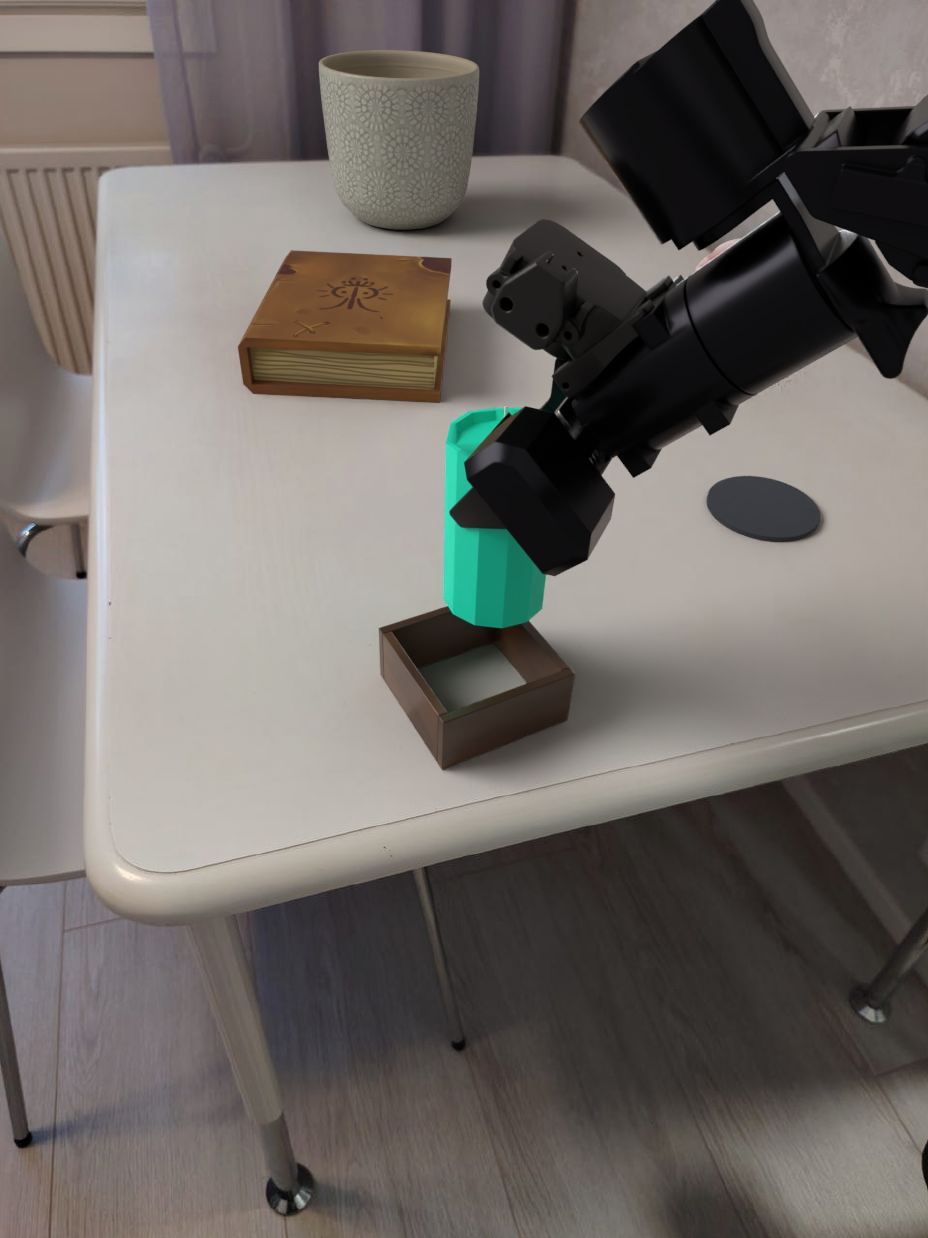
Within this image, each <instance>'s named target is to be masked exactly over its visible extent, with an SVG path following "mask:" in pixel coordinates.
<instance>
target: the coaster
mask: <svg viewBox="0 0 928 1238" xmlns="http://www.w3.org/2000/svg"><path fill="white" fill-rule="evenodd" d="M706 506H707V509H708V511H709V513H710V514H711V515H712V517H713V518H714V519H715V520H716V521H718V522H719V523H720V524H721V525H723V526H724V527H725V528H727V529H729V530H731V531H733V532H735V533H738V534H740V535H743V536H745V537H748V538H752V539H755V540H756V539H757V540H759V541H766V542H793V541H797V540H800V539H804V538H806V537H808V536H810V535H812V534H813V533H814V532H815V531H816V530H817V528H818V527H819V524H820V521H821V512H820V509H819V506H818V505H817V503H816V502H815V501H814V500H813V499H812V498H811V496H809V495H808V494H806V493H805V492H804V491H802V490H801V489H799V488H797V487H795V486H793V485H791V484H789V483H786V482H783V481H781V480H778V479H773V478H771V477H764V476H757V475H756V476H755V475H738V476H731V477H725V478H724V479H721V480H719V481H717V482H716V483H714V484H713V485H712V486H711V487H710V489H709V490H708V492H707V495H706Z"/></svg>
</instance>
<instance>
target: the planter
mask: <svg viewBox="0 0 928 1238" xmlns="http://www.w3.org/2000/svg"><path fill="white" fill-rule="evenodd" d="M318 75H319V76H318V77H319V78H318V79H319V88H320V98H321V99H320V101H321V107H322V117H323V123H324V124H323V125H324V131H325V139H326V147H327V148H326V149H327V153H328V161H329V168H330V172H331V176H332V181H333V186H334V189H335V192H336V195H337V196H338V199H339V200H340V202H341V203H342V205H343V206H344V207H345V208H346V209H347V210H348V211H349V212H350V213H351V214H352V216H354V217H356V218H357V219H358V220H360V221H361V222H363V223H365V224H368V225H369V226H373V227H376V228H381V229H389V230H407V231H408V230H419V229H425V228H430V227H433V226H436V225H439V224H440V223H442V222H444V221H445V220H447V219H448V218H449V217H450V216H451V215H452V214H454V213H455V211H456V210H457V209H458V208H459V207H460V205H461V204H462V202H463V200H464V197H465V195H466V193H467V190H468V186H469V179H470V174H471V169H472V160H473V151H474V143H475V142H474V141H475V133H476V126H477V125H476V123H477V114H478V103H479V102H478V101H479V88H480V87H479V86H480V66H479V65H478V64H477V63H476V62H474V61H472V60H470V59H466V58H463V57H460V56H455V55H450V54H446V53H445V54H444V53H438V52H429V51H419V50H402V49H401V50H400V49H399V50H398V49H372V50H356V51H355V50H354V51H346V52H339V53H334V54H331V55H328V56H325V57H323V58H321V59H320V60H319V61H318ZM444 219H445V220H444Z"/></svg>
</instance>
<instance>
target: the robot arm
mask: <svg viewBox="0 0 928 1238" xmlns="http://www.w3.org/2000/svg"><path fill="white" fill-rule="evenodd" d="M578 124H579V125H580V127H581V128H582V130H583V131H584V133H585V134H586V136H587V137H588V139H589V140H590V142H591V143H592V145H593V146H594V148H595V149H596V151H597V152H598V154H599V155H600V156H601V159H603V161H604V162H605V164H606V166H607V167H608V169H609V170H610V172H611V173H612V174H613V176H614V177H615V179H616V181H617V182H618V184H619V185H620V187H621V188H622V189H623V191H624V193H625V194H626V196H627V197H628V199H629V200H630V201H631V203H632V205H633V206H634V207H635V209H636V211H637V212H638V213H639V215H640V216H641V218H642V219H643V221H644V222H645V224H646V225H647V227H648V228H649V230H650V231H651V233H652V234H653V236H654V237H655V239H656V240H657V242H658V243H659V244H660V245H664V244H666V243H668V242H670V241H672V243H673V244H674V246H675V247H676V249H677V250H678V251H680V250H682V249H684V248H685V247H687V246H688V245H690V244H691V243H692V244H693V246H694V248H695V249H696V250H697V251H698V252H700V251H703V250H704V249H707V248H708V247H710V246H711V245H712V244H715V243H716V242H717V241H719V240H721V239H722V238H723V237H724V236H727V235H728V234H729V233H730V232H731V231H734V229H736V228H737V227H739V225H741V224H743V222H745V221H746V220H747V219H749V218H750V217H751V216H752V215H754V214H755V213H756V212H758V211H759V210H760V209H762V208H763V207H764V206H766V205H767V204H768V203H770V202H771V201H773V202H774V204H775V206H776V207H777V209H778V212H777V213H776V214H774V215H772V216H771V217H769V218H768V219H767V220H765V221H764V222H763V223H761V224H760V225H758V226H757V227H756V228H755V229H753V230H752V231H750V232H749V233H747V234H746V235H745V236H743V237H742V238H741V239H740V240H739V241H738V242H736V243H735V244H733V245H732V246H731V247H729V248H728V249H726V250H725V251H724V252H722V253H721V254H719V255H718V256H717V257H715V258H714V259H712V260H711V261H710V262H708V263H707V264H705V265H704V266H703V267H701V268H700V269H698V270H697V271H696V272H695V271H694V272H693V273H691V274H690V275H688V276H687V277H685V278H684V277H683V276H682V274H679V275H678V276H676V277H674V279H673V278H672V277H671V275H670V274H667V275H666V276H665V277H663V278H662V279H661V280H659V281H657V283H655V284H653V285H652V286H650V287H649V288H648V289H647V290H645V288H643V287H642V286H641V285H640V284H638V283H637V282H636V281H634V279H632V278H631V277H629V276H628V275H627V274H626V272H625V271H624V270H623V269H622V268H621V267H620V266H619V265H618V264H617V263H615V262H613V261H612V260H611V259H610V258H608V257H607V256H605V255H604V254H603V253H601V252H600V251H598V250H597V249H596V248H595V247H593V246H592V245H590V244H588V243H587V242H586V241H584V240H583V239H582V238H581V237H579V236H577V235H576V234H575V233H573V232H571V231H570V230H569V229H568V228H566V227H565V226H563V225H562V224H561V223H558V222H556V221H554V220H551V219H547V218H542V219H538V220H537V221H536V222H535V223H533V224H532V225H531V226H529V227H528V228H527V229H526V230H524V231H523V232H521V233H520V234H519V235H518V236H516V237H515V238H514V239H513V240H512V241H511V245H510V246H509V248H508V250H507V252H506V253H505V256H504V258H503V260H502V262H501V264H500V266H499V267H497V268H496V270H494V271H493V272H492V273H490V274H489V275H488V276H487V277H486V280H485V281H486V282H485V285H486V290H487V291H486V294H485V296H483V299H482V301H481V302H482V307H483V310H484V311H485V313H486V314H487V315H488V316H489V318H491V319H493V322H495V324H496V325H498V326H499V327H500V328H502V329H503V330H504V331H506V332H507V333H509V334H510V335H512V336H513V337H514V338H515V339H517V340H518V341H520V342H521V343H522V344H524V345H526V346H527V347H528V348H530V349H531V350H533V351H540V350H541V351H542V350H543V351H544V352H546V353H547V354H548V355H550V356H552V357H553V358H555V361H554V366H553V373H552V375H551V378H552V382H551V390H550V396H549V398H547V400H546V401H545V403H543V405H542V406H541V407H540V408H534V407H531V406H527V405H524V406H522V407H523V408H522V409H520V410H519V411H518V412H516V413H515V414H513V415H511V414H510V412H508V413H507V415H506V416H505V417H504V418H503V419H502V420H501V421H500V422H499V424H498V425H497V426H496V427H495V428H494V429H493V430H492V431H491V433H490V434H489V435H488V436H487V437H486V438H485V439H484V440H483V442H482V443H481V444H480V445H479V446H478V447H477V448H476V449H475V451H474V452H473V453H472V454H471V455H470V456H469V457H468V458H467V460H466V461H465V462H464V466H465V472H466V478H467V481H468V482H469V483H470V484H471V486H472V487H471V488H470V490H469V491H468V492H467V493H466V494H465V495H464V496H463V497H462V498H461V499H460V500H459V501H458V502H457V503H456V504H455V505H454V506H453V507H452V508H451V509H450V511H449V514H450V516H451V517H452V518H453V519H454V521H455V522H456V523H457V524H458V525H459V526H460V527H462V528H483V529H507V530H508V532H509V533H510V534H511V535H512V537H513V538H514V539H515V540H516V542H517V543H518V544H519V545H520V547H521V548H522V549H523V550H524V552H525V553H526V554H527V555H528V556H529V558H530V559H531V560H532V561H533V563H534V564H535V565H536V566H537V568H538V569H539V570H540V571H541V573H542V574H546V576H551V577H556V576H558V575H560V574H563V573H565V572H567V571H569V570H571V569H573V568H575V567H577V566H579V565H580V564H583V563H585V562H587V561H588V560H589V558H590V556H591V554H592V553H593V552H594V550H595V548H596V546H597V545H598V543H599V541H600V539H601V537H602V536H603V534H604V532H605V530H606V529H607V527H608V526H609V524H610V522H611V520H612V517H613V510H614V504H615V499H616V493H615V491H614V490H613V488H612V487H611V485H609V483H608V482H607V480H606V479H605V477H603V474H604V472H605V471H606V469H607V468H608V466H609V465H610V463H611V462H612V460H613V459H614V458H616V457H617V458H618V460H619V461H620V463H622V465H623V466H624V468H625V469H626V470H627V472H628V474H630V477H632V479H634V478H636V477H638V476H641V475H642V474H643V473H645V472H647V471H649V470H650V469H652V467H653V466H654V464H655V462H656V460H657V458H658V456H659V455H660V453H661V452H662V449H663V448H665V447H667V446H669V445H670V444H672V443H674V442H676V441H677V440H679V439H681V438H683V437H684V436H686V435H688V434H691V433H692V432H693V431H695V430H697V429H699V428H700V427H703V429H704V430H705V432H706V433H707V434H708V436H712V435H714V434H715V433H718V432H720V431H722V430H724V429H725V428H727V427H728V426H730V425H731V424H732V422H733V419H734V417H735V415H736V413H737V411H738V408H739V406H740V405H741V404H743V403H745V402H747V401H748V400H750V399H751V398H754V397H755V396H757V395H758V394H760V393H762V392H764V391H766V390H767V389H769V388H771V387H772V386H774V385H776V384H778V383H779V382H781V381H783V380H785V379H786V378H788V377H790V376H792V375H794V374H795V373H797V372H799V371H800V370H802V369H804V368H805V367H808V366H810V365H811V364H812V363H815V362H816V361H818V360H819V359H822V358H823V357H825V356H827V355H829V354H830V353H832V352H834V351H836V350H837V349H839V348H841V347H843V346H844V345H846V344H848V343H850V342H851V341H853V340H855V339H857V338H858V340H859V342H860V343H861V345H862V347H863V348H864V350H865V351H866V353H867V354H868V356H869V358H870V359H871V361H872V362H873V364H874V366H875V367H876V369H877V370H878V372H879V374H880V375H881V376H882V377H883V378H885V379H886V380H892V379H896V378H898V377H899V376H900V375H901V374H902V372H903V370H904V366H905V365H904V363H905V361H906V356H907V353H908V351H909V348H910V345H911V342H912V340H913V338H914V337H915V334H916V332H917V331H918V329H919V327H920V326H921V325H922V323H923V322H924V320H925V319H926V318H927V317H928V94H927V95H926V96H923V98H921V100H920V101H919V102H918V103H917V104H916V105H905V106H902V105H901V106H883V107H882V106H881V107H860V108H853V106H850V105H849V106H848V107H847V108H837V109H823V110H820V111H818V112H817V113H816V115H815V116H814V114H813V113H812V111H811V109H810V107H809V106H808V104H807V102H806V101H805V99H804V97H803V95H802V94H801V92H800V90H799V89H798V87H797V85H796V83H795V82H794V80H793V79H792V77H791V75H790V73H789V72H788V70H787V68H786V67H785V64H783V61H782V60H781V58H780V57H779V55H778V53H777V51H776V50H775V47H773V44H772V42H771V40H770V38H769V34H768V32H767V28H766V25H765V21H764V18H763V16H762V13H761V12H760V10H759V8H758V5H757V4H756V3H755V1H754V0H714V2H713V3H711V4H710V5H709V6H708V7H707V8H706V9H705V10H704V11H703V12H702V13H701V14H700V15H698V16H697V17H696V18H695V19H693V20H692V21H690V22H689V23H688V24H687V25H685V26H684V27H683V28H682V29H681V30H680V31H678V32H677V33H676V34H675V35H674V36H673V37H672V38H670V39H669V40H668V41H667V42H666V43H664V45H662V46H661V47H660V48H658V50H655V51H654V52H652V53H650V54H648V55H646V56H644V57H642V58H640V59H638V60H637V61H635V62H634V63H633V64H632V65H631V66H630V67H629V68H628V69H626V70H625V72H623V74H621V75H620V76H619V77H618V78H617V79H616V80H615V81H614V82H613V83H612V84H611V85H610V86H609V87H608V88H607V89H606V90H605V91H604V92H603V93H602V94H601V95H600V96H599V97H598V98H597V99H596V100H595V101H594V102H593V104H591V105H590V107H588V108H587V110H586V111H585V112H584V114H583V115H582V116H581V117H580V118H579V120H578ZM837 228H840V229H842V230H840V231H839V230H838V229H837ZM870 240H872V241H874V244H875V245H876V247H877V249H878V250H879V252H880V254H882V255H881V256H883V258H884V260H885V261H886V263H887V264H888V266H890V267H891V268H892V269H894V270H895V271H897V272H898V273H900V274H901V275H902V276H904V277H905V278H907V279H908V280H909V281H912V283H913V285H915V286H916V287H910V286H907V285H903V284H901V283H899V282H896V281H894V279H893V277H892V275H890V273H889V271H888V268H887V266H886V265H885V264H884V263H883V260H882V259H881V257H880V256H879V254H878V252H877V251H876V248H874V246H873V244H872V243H871V241H870ZM919 287H920V288H919Z"/></svg>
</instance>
